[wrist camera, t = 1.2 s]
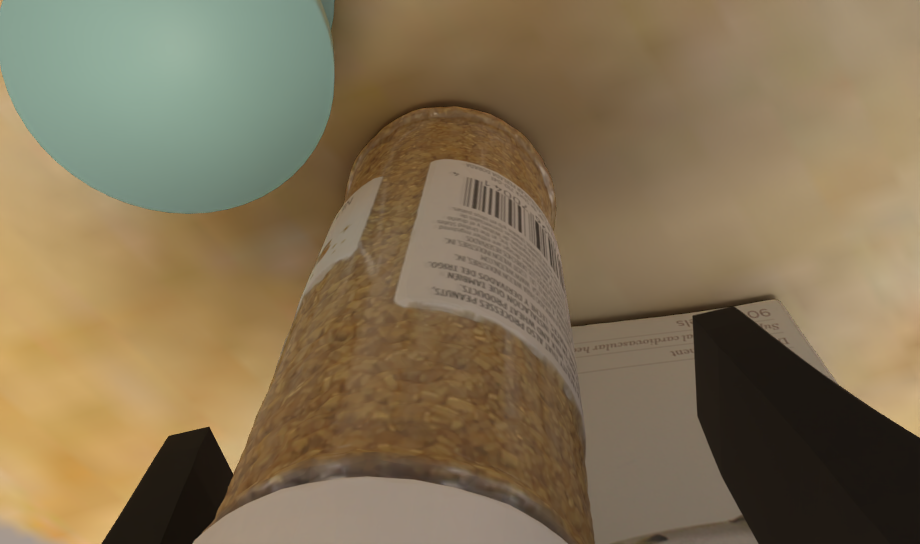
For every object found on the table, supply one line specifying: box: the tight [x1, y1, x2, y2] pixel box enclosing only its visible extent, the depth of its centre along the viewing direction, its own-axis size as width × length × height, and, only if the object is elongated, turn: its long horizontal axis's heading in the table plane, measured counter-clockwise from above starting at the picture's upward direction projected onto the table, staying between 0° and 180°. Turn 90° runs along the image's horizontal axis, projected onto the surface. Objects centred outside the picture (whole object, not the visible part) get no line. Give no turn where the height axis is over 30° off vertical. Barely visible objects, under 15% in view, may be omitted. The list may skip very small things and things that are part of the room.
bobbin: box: [0, 0, 334, 214], centre depth 14 cm, size 5×5×4 cm
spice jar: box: [192, 106, 595, 544], centre depth 13 cm, size 5×5×14 cm
